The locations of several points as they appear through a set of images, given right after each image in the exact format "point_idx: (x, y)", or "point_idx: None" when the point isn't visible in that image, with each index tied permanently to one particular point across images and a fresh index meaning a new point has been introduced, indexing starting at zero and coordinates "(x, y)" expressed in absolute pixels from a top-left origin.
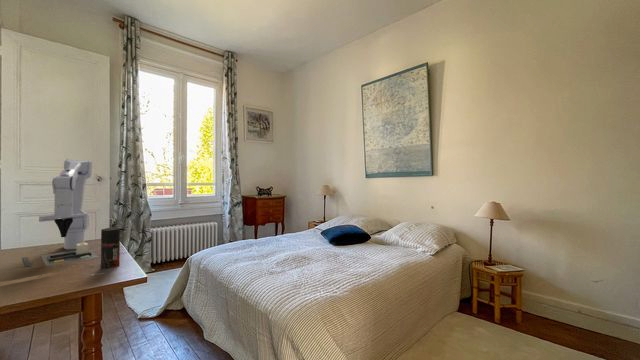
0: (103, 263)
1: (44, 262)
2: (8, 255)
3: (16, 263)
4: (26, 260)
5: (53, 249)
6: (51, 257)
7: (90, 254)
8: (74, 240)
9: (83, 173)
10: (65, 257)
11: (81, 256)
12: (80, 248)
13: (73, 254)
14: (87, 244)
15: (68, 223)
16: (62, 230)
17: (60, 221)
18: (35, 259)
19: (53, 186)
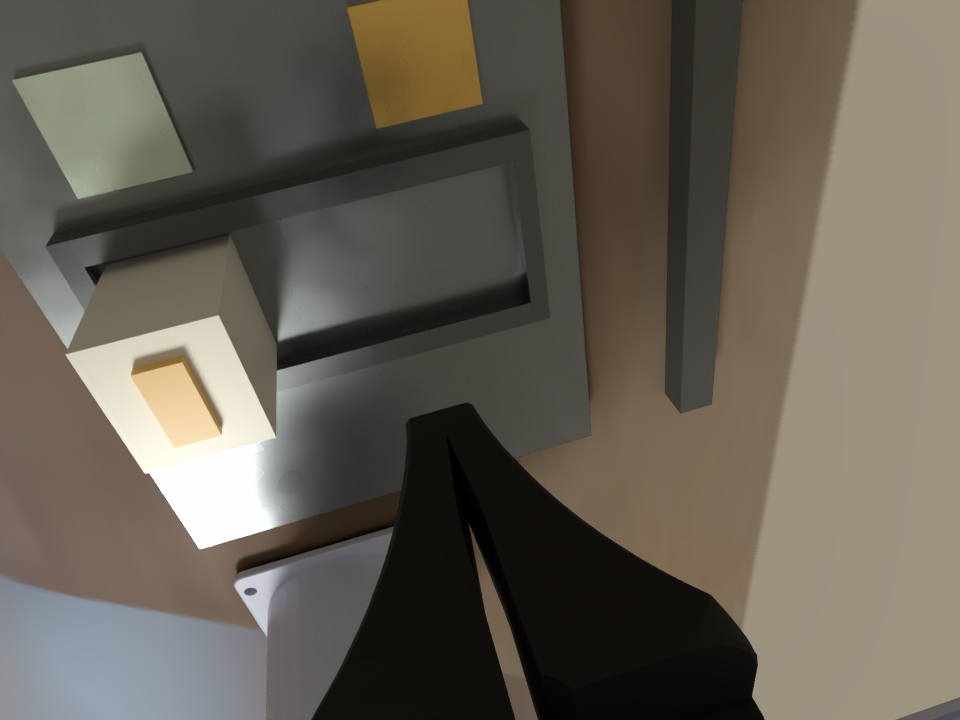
0: None
1: (565, 85)
2: (741, 563)
3: (738, 319)
4: (702, 274)
5: (501, 634)
6: (506, 296)
7: (62, 233)
8: (347, 651)
9: None
10: (358, 165)
11: (158, 150)
12: (187, 297)
13: (302, 343)
14: (77, 348)
15: (410, 662)
16: (499, 490)
17: (642, 708)
18: (614, 390)
19: None
